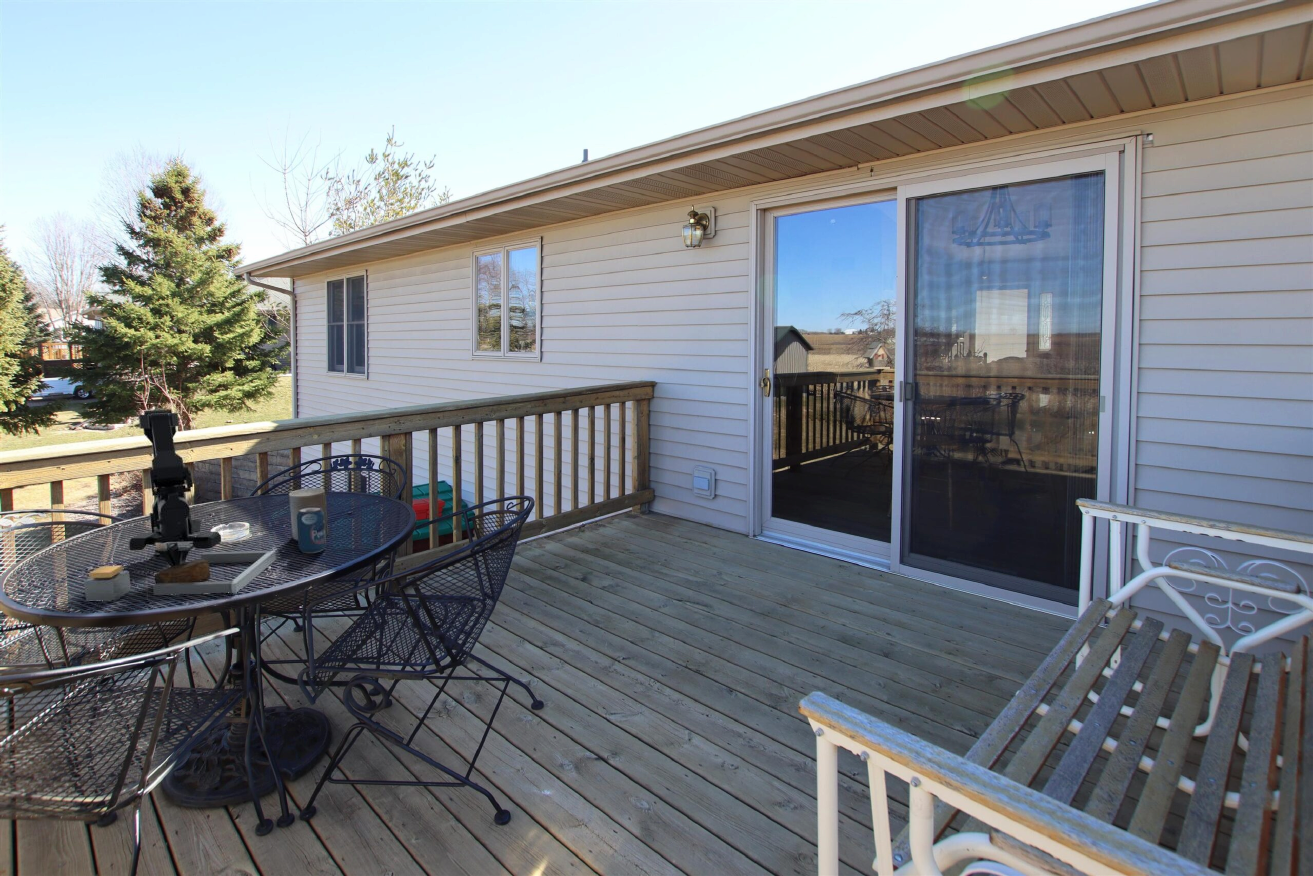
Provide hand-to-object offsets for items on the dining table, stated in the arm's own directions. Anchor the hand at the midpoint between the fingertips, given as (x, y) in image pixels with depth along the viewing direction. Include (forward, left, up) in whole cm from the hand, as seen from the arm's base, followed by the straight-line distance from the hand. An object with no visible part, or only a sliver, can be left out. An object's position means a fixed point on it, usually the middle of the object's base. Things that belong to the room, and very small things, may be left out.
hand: (179, 573), depth 173 cm
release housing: (+11, -10, -1) cm, 15 cm away
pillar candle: (-32, +20, -1) cm, 38 cm away
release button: (+11, -10, 0) cm, 15 cm away
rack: (0, +8, -1) cm, 8 cm away
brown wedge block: (+4, +3, -2) cm, 5 cm away
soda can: (-19, +25, -1) cm, 32 cm away
